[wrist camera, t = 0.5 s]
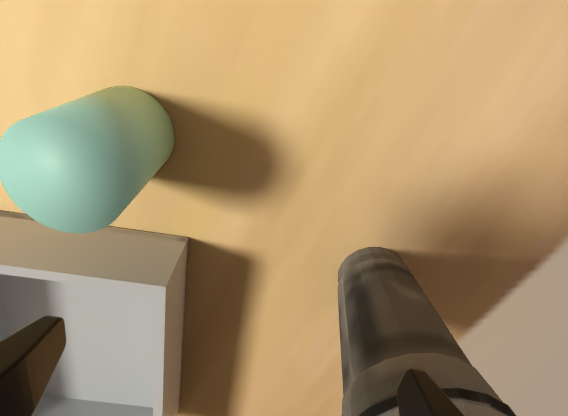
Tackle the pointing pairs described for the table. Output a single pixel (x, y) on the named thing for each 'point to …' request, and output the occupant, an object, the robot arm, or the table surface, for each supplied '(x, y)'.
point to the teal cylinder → (85, 158)
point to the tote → (99, 313)
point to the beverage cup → (398, 341)
